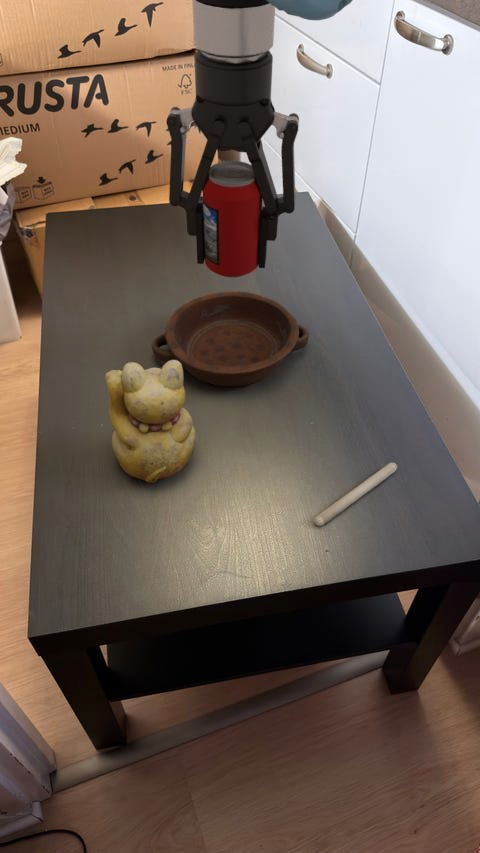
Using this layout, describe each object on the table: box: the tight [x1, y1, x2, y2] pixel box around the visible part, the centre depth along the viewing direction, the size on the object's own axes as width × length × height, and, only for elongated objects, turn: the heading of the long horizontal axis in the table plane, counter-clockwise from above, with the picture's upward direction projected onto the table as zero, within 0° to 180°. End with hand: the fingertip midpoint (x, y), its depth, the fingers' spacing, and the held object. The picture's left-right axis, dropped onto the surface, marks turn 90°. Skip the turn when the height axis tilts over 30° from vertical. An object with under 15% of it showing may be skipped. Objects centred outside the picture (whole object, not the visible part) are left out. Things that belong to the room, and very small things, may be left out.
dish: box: [151, 291, 310, 387], centre depth 86 cm, size 18×22×5 cm
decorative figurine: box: [104, 360, 197, 483], centre depth 69 cm, size 10×8×15 cm
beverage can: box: [202, 160, 263, 278], centre depth 72 cm, size 7×7×12 cm
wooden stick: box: [314, 461, 398, 527], centre depth 72 cm, size 1×13×1 cm, turn 130°
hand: (232, 259), depth 76 cm, fingers closed on beverage can, 7 cm apart
